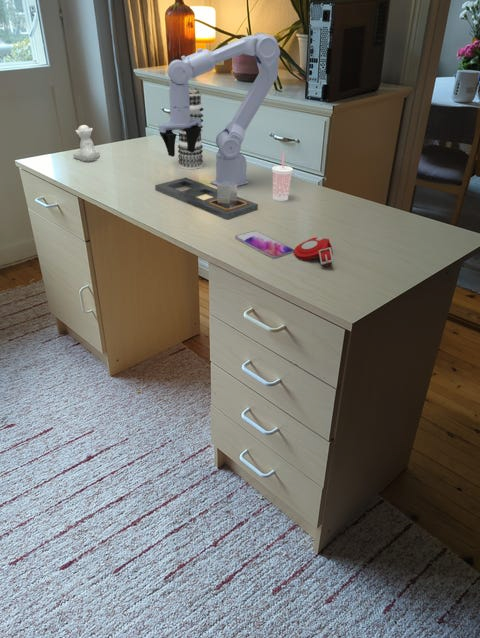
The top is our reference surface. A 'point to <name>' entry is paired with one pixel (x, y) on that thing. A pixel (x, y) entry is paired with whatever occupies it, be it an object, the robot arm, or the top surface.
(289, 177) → the beverage cup
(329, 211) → the top surface
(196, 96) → the decorative candle
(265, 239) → the smartphone
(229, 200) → the block
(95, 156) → the white creature statuette
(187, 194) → the rail
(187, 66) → the robot arm
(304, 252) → the tracker holder
